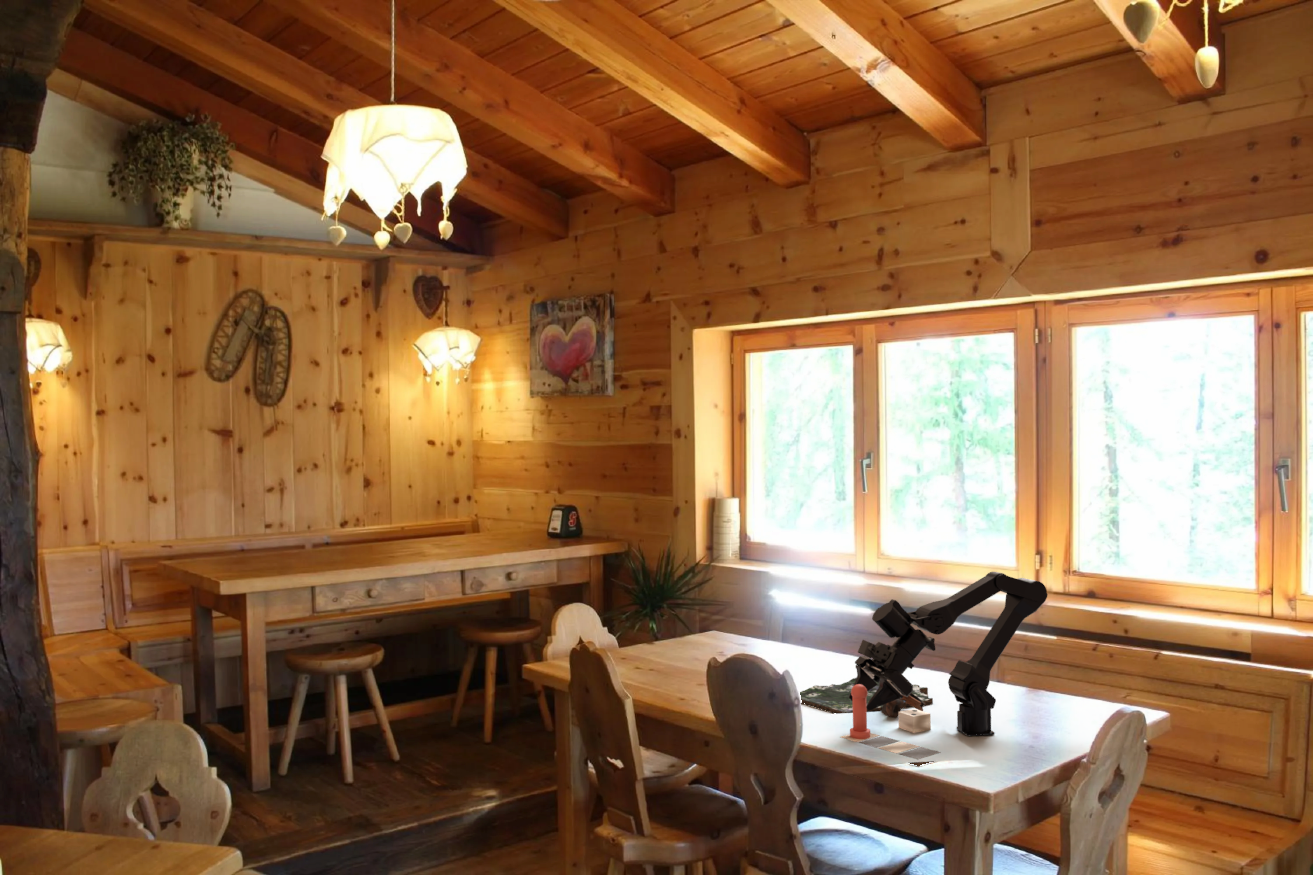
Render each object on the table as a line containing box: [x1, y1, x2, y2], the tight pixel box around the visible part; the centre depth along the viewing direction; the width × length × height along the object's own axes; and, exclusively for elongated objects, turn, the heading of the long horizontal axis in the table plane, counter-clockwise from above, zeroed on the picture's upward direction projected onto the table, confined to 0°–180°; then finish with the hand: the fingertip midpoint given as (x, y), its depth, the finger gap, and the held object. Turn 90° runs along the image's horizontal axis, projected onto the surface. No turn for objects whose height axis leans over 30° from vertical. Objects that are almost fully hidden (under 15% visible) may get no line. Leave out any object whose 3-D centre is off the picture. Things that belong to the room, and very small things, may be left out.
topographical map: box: [799, 676, 934, 715], centre depth 269 cm, size 26×33×3 cm
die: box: [898, 708, 932, 734], centre depth 236 cm, size 5×5×5 cm
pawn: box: [849, 684, 871, 740], centre depth 230 cm, size 4×4×12 cm
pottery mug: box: [880, 693, 925, 718], centre depth 249 cm, size 12×10×8 cm
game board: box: [840, 732, 942, 767], centre depth 224 cm, size 23×9×1 cm, turn 37°
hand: (858, 703), depth 230 cm, fingers open, 9 cm apart
